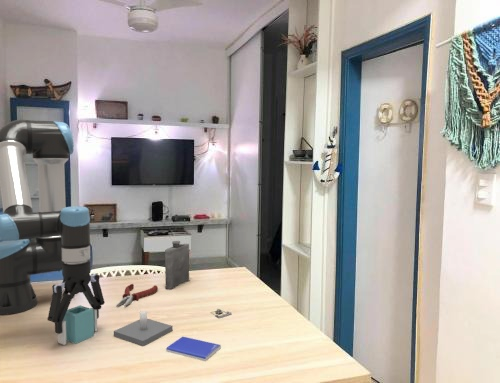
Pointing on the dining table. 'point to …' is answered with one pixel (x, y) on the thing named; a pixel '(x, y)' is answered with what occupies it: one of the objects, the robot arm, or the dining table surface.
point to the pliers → (135, 295)
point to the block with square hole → (79, 324)
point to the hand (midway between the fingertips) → (78, 336)
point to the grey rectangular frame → (220, 313)
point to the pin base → (143, 330)
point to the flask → (176, 265)
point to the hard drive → (193, 348)
